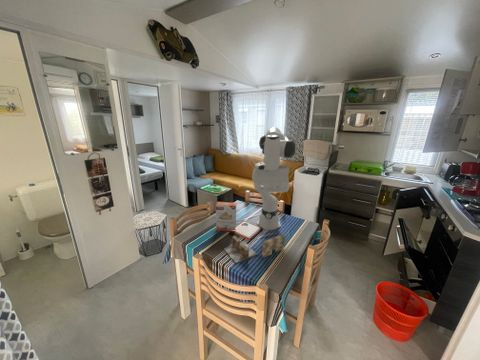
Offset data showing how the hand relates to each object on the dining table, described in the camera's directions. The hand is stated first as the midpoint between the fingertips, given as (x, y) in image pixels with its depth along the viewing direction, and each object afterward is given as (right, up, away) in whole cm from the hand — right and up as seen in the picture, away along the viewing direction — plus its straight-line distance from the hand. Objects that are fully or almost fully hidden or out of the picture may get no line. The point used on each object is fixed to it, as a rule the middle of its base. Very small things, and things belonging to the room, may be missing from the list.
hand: (269, 189), depth 114 cm
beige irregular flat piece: (+4, -40, +11) cm, 42 cm away
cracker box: (-27, -32, +35) cm, 55 cm away
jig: (-17, -40, +10) cm, 44 cm away
